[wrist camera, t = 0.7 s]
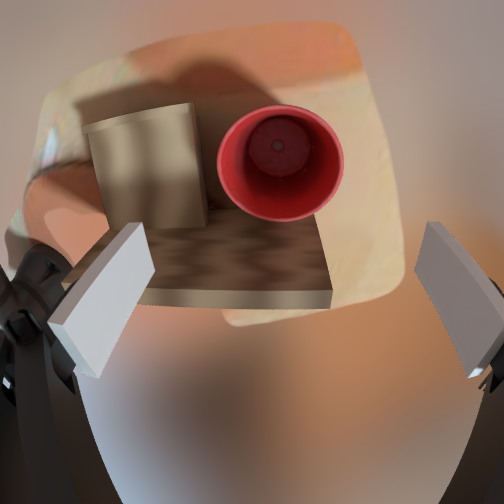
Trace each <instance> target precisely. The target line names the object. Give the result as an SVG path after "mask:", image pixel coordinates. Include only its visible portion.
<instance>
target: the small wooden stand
mask: <svg viewBox="0 0 504 504" xmlns="http://www.w3.org/2000/svg"><path fill="white" fill-rule="evenodd" d="M82 133H83V134H87V133H88V138H89V143H90V149H91V154H92V159H93V164H94V169H95V173H96V178H97V182H98V186H99V190H100V194H101V198H102V202H103V206H104V210H105V214H106V217H107V221H108V224H109V227H110V231H118V230H122V229H123V228H124V227H125V226H126V225H127V224H128V223H135V222H142V224H143V228H144V229H165V228H197V227H206V225H207V223H208V216H207V212H208V210H209V208H208V200H207V192H206V184H205V176H204V168H203V159H202V150H201V141H200V131H199V121H198V118H196V115H195V104H194V102H190V103H183V104H177V105H171V106H165V107H159V108H154V109H148V110H144V111H139V112H134V113H130V114H125V115H121V116H117V117H113V118H109V119H105V120H102V121H98V122H94V123H91V124H88V125H85V126H82Z"/></svg>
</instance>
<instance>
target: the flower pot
mask: <svg viewBox="0 0 504 504" xmlns="http://www.w3.org/2000/svg"><path fill="white" fill-rule="evenodd" d="M343 169H344V157H343V151H342V147H341V144H340V142H339V139H338V137H337V135H336V134H335V132H334V131H333V129H332V128H331V127H330V126H329V125H328V124H327V123H326V122H325V121H324V120H323V119H322V118H321V117H319V116H318V115H316V114H314V113H313V112H311V111H309V110H306V109H304V108H300V107H297V106H292V105H269V106H264V107H261V108H258V109H255V110H253V111H250V112H248V113H247V114H245V115H243V116H242V117H241V118H239V119H238V120H237V121H236V122H235V123H234V124H233V125H232V126H231V127H230V128H229V129H228V131H227V132H226V134H225V135H224V137H223V139H222V141H221V144H220V146H219V149H218V153H217V172H218V177H219V180H220V183H221V185H222V187H223V189H224V190H225V192H226V194H227V195H228V197H229V198H230V199H231V200H232V201H233V202H234V203H235V204H236V205H237V206H238V207H240V208H241V209H242V210H244V211H245V212H247V213H249V214H251V215H253V216H255V217H257V218H260V219H264V220H268V221H274V222H288V221H294V220H298V219H302V218H305V217H307V216H309V215H312V214H313V213H315V212H317V211H318V210H320V209H321V208H322V207H323V206H325V205H326V204H327V203H328V202H329V201H330V200H331V198H332V197H333V196H334V194H335V193H336V191H337V189H338V187H339V185H340V182H341V179H342V176H343Z"/></svg>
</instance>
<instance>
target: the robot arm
mask: <svg viewBox="0 0 504 504" xmlns="http://www.w3.org/2000/svg"><path fill="white" fill-rule="evenodd" d="M72 269H73V268H72V266H71V265H70V264H69V263H68V261H67V260H66V259H65V258H64V257H63V256H62V255H61V254H59V253H58V252H57V251H55V250H54V249H52V248H50V247H48V246H45V245H35V246H33V247H32V248H31V249H30V250H29V251H28V252H27V253H26V254H25V256H24V257H23V260H22V262H21V264H20V266H19V268H18V270H17V272H16V275H15V277H14V278H13V280H12V281H11V282H10V281H9V279H8V277H7V276H6V274H5V272H4V270H3V268H2V267H1V265H0V504H123V503H122V501H121V499H120V497H119V495H118V493H117V491H116V489H115V487H114V485H113V483H112V481H111V478H110V476H109V474H108V472H107V469H106V467H105V465H104V462H103V460H102V457H101V455H100V452H99V450H98V447H97V445H96V442H95V439H94V436H93V433H92V430H91V427H90V424H89V421H88V418H87V415H86V411H85V408H84V405H83V401H82V397H81V393H80V390H79V386H78V382H77V377H76V376H75V373H74V372H73V370H74V368H75V366H76V365H77V367H78V368H79V369H80V371H81V372H82V373H83V375H87V376H91V377H94V378H99V377H100V375H101V373H102V371H103V369H104V367H105V365H106V363H107V360H108V358H109V356H110V354H111V352H112V350H113V348H114V346H115V344H116V342H117V340H118V338H119V336H120V334H121V332H122V330H123V329H124V327H125V324H126V323H127V321H128V319H129V317H130V315H131V313H132V311H133V309H134V308H135V306H136V304H137V302H138V300H139V299H140V297H141V295H142V293H143V291H144V290H145V288H146V286H147V284H148V283H149V281H150V279H151V277H152V276H153V274H154V272H155V269H154V266H153V262H152V258H151V255H150V251H149V247H148V244H147V240H146V236H145V232H144V228H143V224H142V222H135V223H128V224H127V225H126V226H125V227H124V228H123V229H122V230H121V231H120V232H119V233H118V235H117V236H116V237H115V238H114V239H113V240H112V241H111V242H110V243H109V245H108V246H107V247H106V248H105V249H104V250H103V251H102V253H101V254H100V255H99V256H98V257H97V258H96V260H95V261H94V262H93V263H92V264H91V265H90V267H89V268H88V269H87V270H86V271H85V273H84V274H83V275H82V276H81V278H79V279H77V280H76V281H75V282H73V283H72V284H71V285H70V286H69V287H68V288H67V290H66V291H65V290H64V288H63V286H62V284H61V282H62V281H63V280H64V278H65V277H66V276H67V275H68V274H69V272H70V271H71V270H72ZM414 271H415V273H416V274H417V276H418V278H419V279H420V281H421V283H422V285H423V286H424V288H425V290H426V292H427V294H428V295H429V297H430V299H431V301H432V303H433V305H434V306H435V308H436V310H437V312H438V314H439V316H440V318H441V320H442V322H443V324H444V326H445V328H446V330H447V332H448V334H449V336H450V338H451V341H452V343H453V345H454V347H455V349H456V351H457V354H458V356H459V358H460V361H461V363H462V365H463V368H464V370H465V373H466V375H467V378H470V377H473V376H477V375H480V374H482V373H483V372H484V370H485V369H486V368H487V366H488V365H489V364H490V365H491V367H492V371H491V372H490V373H489V374H488V376H487V377H486V378H485V379H484V380H483V382H482V383H481V384H480V386H479V389H481V388H482V387H483V385H484V384H486V387H485V389H484V390H483V391H484V395H483V399H482V402H481V405H480V409H479V412H478V415H477V418H476V421H475V425H474V427H473V430H472V433H471V436H470V438H469V441H468V443H467V446H466V448H465V451H464V453H463V456H462V458H461V460H460V463H459V465H458V467H457V469H456V471H455V474H454V476H453V478H452V480H451V482H450V484H449V486H448V487H447V489H446V491H445V493H444V495H443V497H442V498H441V500H440V502H439V504H504V294H502V291H501V290H500V288H499V287H498V285H497V284H496V283H495V282H494V281H492V280H491V279H490V278H489V277H487V275H486V274H485V273H484V272H483V270H482V269H481V268H480V267H479V265H478V264H477V263H476V262H475V261H474V259H473V258H472V257H471V256H470V255H469V253H468V252H467V251H466V250H465V249H464V248H463V246H462V245H461V244H460V243H459V242H458V241H457V240H456V239H455V238H454V236H453V235H452V234H451V233H450V232H449V231H448V230H447V229H446V228H445V227H444V226H443V225H442V224H441V223H440V222H430V221H428V222H427V225H426V229H425V233H424V237H423V241H422V245H421V249H420V253H419V256H418V260H417V263H416V266H415V270H414ZM4 377H5V378H6V380H7V381H8V382H10V388H9V389H8V388H7V387H6V386H5V385H4V384H3V378H4Z"/></svg>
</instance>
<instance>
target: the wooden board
mask: <svg viewBox="0 0 504 504" xmlns="http://www.w3.org/2000/svg"><path fill="white" fill-rule="evenodd" d="M207 216H208V223H207V225H206V227H197V228H165V229H144V232H145V236H146V240H147V244H148V247H149V251H150V255H151V258H152V262H153V266H154V269H155V272H154V274H153V276H152V277H151V279H150V281H149V283H148V284H147V286H146V288H145V290H144V291H143V293H142V295H141V297H140V299H139V300H138V302H137V304H142V305H156V306H157V305H158V306H173V307H193V308H219V309H330V305H331V299H332V293H333V288H332V284H331V280H330V275H329V271H328V267H327V263H326V259H325V255H324V251H323V247H322V243H321V239H320V235H319V231H318V228H317V224H316V220H315V216H314V213H313V214H312V215H309V216H307V217H305V218H302V219H298V220H294V221H288V222H274V221H268V220H264V219H260V218H257V217H255V216H253V215H251V214H249V213H247V212H245V211H244V210H242V209H215V210H208V212H207ZM120 231H121V230H118V231H110V229H109V230H108V231H107V232H106V233H105V234H104V235H103V236H102V237H101V238H100V239H99V240H98V241H97V243H96V244H95V245H94V246H93V247H92V248H91V249H90V250H89V251H88V252H87V253H86V254H85V255H84V257H83V258H82V259H81V260H80V261H79V262H78V263H77V264H76V266H75V267H74V268H73V269H72V270H71V271H70V272H69V274H68V275H67V276H66V277H65V278H64V280H63V281H62V282H61V284H62V286H63V288H64V290H65V291H66V290H67V288H68V287H69V286H70V285H71V284H72V283H73V282H75V281H76V280H77V279H79V278H81V276H82V275H83V274H84V273H85V271H86V270H87V269H88V268H89V267H90V265H91V264H92V263H93V262H94V261H95V260H96V258H97V257H98V256H99V255H100V254H101V253H102V251H103V250H104V249H105V248H106V247H107V246H108V245H109V243H110V242H111V241H112V240H113V239H114V238H115V237H116V236H117V235H118V233H119V232H120Z"/></svg>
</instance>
